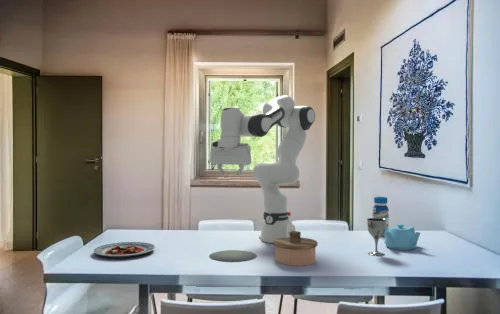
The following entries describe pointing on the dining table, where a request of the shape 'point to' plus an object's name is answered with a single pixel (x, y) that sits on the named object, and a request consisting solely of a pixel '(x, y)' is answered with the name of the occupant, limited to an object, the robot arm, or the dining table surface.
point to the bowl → (295, 256)
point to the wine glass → (376, 232)
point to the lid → (295, 242)
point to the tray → (233, 256)
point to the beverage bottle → (381, 209)
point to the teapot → (401, 237)
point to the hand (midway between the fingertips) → (230, 175)
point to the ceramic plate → (124, 249)
